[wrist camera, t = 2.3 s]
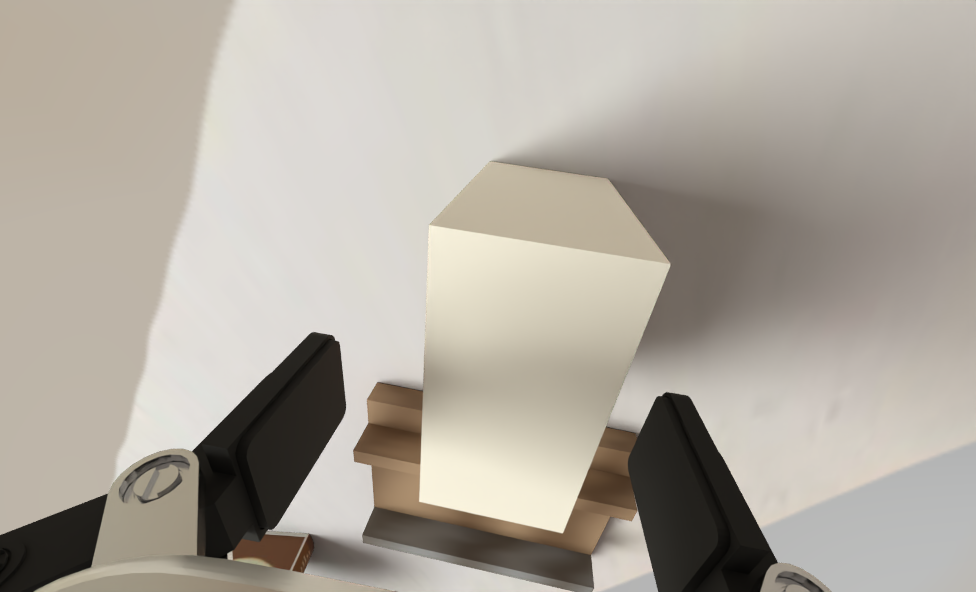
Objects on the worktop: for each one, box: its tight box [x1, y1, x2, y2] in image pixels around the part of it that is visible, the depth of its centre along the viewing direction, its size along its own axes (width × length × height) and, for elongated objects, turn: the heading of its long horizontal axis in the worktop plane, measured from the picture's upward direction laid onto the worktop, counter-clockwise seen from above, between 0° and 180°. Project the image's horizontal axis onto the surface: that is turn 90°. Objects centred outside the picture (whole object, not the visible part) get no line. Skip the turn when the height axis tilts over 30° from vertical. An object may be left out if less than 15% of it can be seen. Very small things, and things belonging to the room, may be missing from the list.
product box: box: [419, 161, 671, 533], centre depth 14 cm, size 5×10×9 cm, turn 173°
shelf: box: [353, 382, 637, 592], centre depth 24 cm, size 16×14×4 cm
